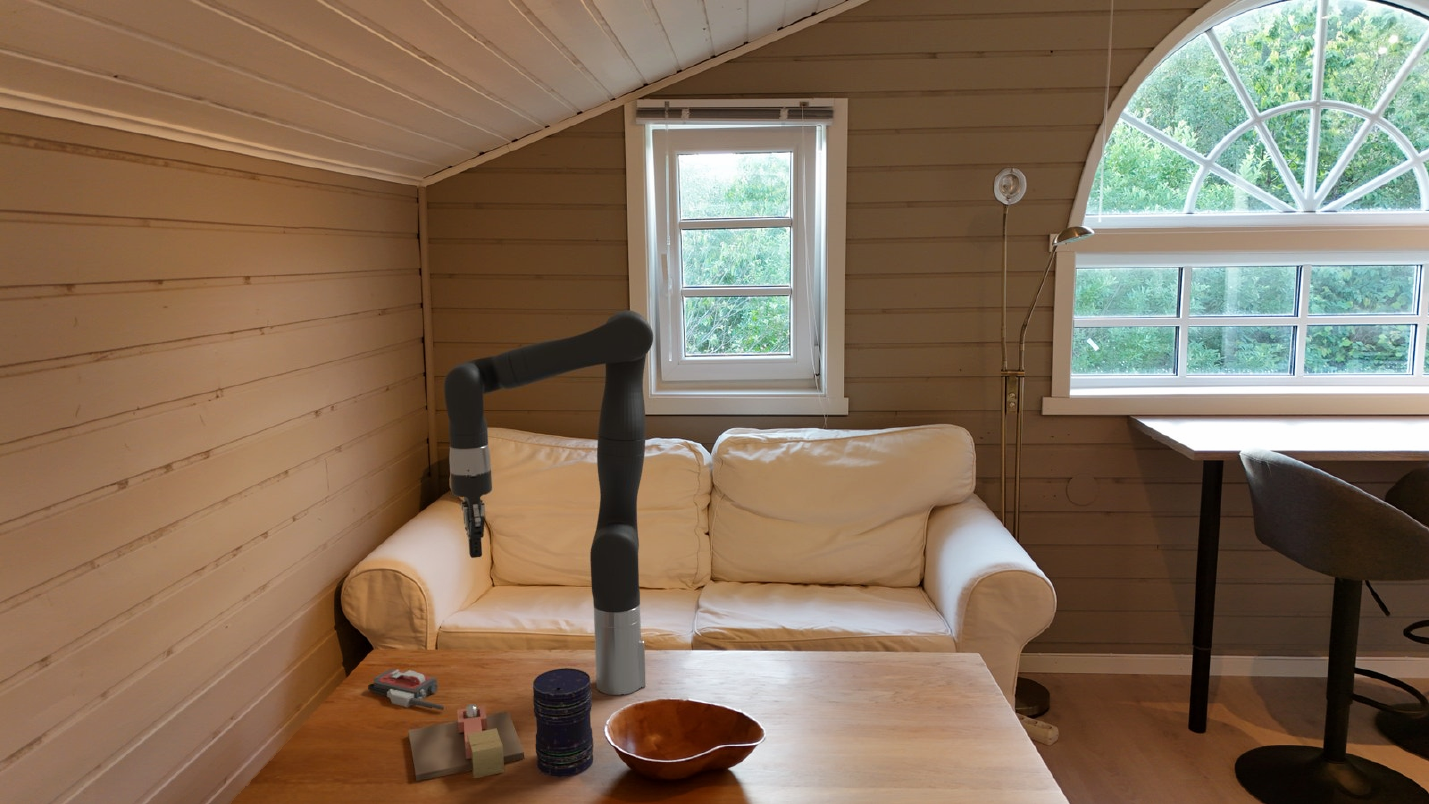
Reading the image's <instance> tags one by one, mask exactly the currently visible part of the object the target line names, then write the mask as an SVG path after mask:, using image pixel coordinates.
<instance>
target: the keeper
mask: <svg viewBox="0 0 1429 804" xmlns="http://www.w3.org/2000/svg"><path fill="white" fill-rule="evenodd" d="M467 738H468V742H469V745H470V749H471V761H472V770H471V772H472V775H473V779H478V778H479V779H480V778H483V777H489V776H492V775H497V774H502V773H505V765H504V764H505V763H504V759H503V745H502V742H501V740H500V737H499V734H498V731H497V728H495V729H490V730H485V731H480V732H475V733H470V734H467Z"/></svg>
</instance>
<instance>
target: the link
mask: <svg viewBox="0 0 1429 804" xmlns="http://www.w3.org/2000/svg"><path fill="white" fill-rule="evenodd" d="M476 708H477V717H475V718H468V719H467V712H466V707H465V708H461V709H457V711H456V712H457V721H458V731H459V733H461V732H464V734H465V749H466V759H470V758H471V749H470V745H469V742H468V738H467V734H470V733H475V732H480V731H482V729H487V718H486V715H487V712H486V706H485V705H481V706H480V705H479V706H476Z"/></svg>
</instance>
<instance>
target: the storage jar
mask: <svg viewBox="0 0 1429 804" xmlns="http://www.w3.org/2000/svg"><path fill="white" fill-rule="evenodd" d="M532 689H533V696H532V703H533V704H532V705H533V713H534V717H535V723H536V725H535V726H536V733H535V755H536V766H537V768H536V769H538V771H539V772H540V773H541V774H543V775H545V776H547V777H551V778H559V779H560V778H561V779H562V778H569V777H574V776H578V775H580V774H583V773H585V772H586V771H587V770H589V769H590V768H591V767H592V765H593V763H594V754H593V753H594V738H593V728H592V726H591V711H592V706H593V704H592V703H593V702H592V690H591V677H590V674H588V673H587V672H586V671H584V670H581V669H577V668H572V667H570V668H569V667H568V668H567V667H566V668H562V667H561V668H555V669H551V670H547V671H545V672H543V673H540V674H539V675H537V676H536V677H535V678H534V680H533V682H532Z"/></svg>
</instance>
